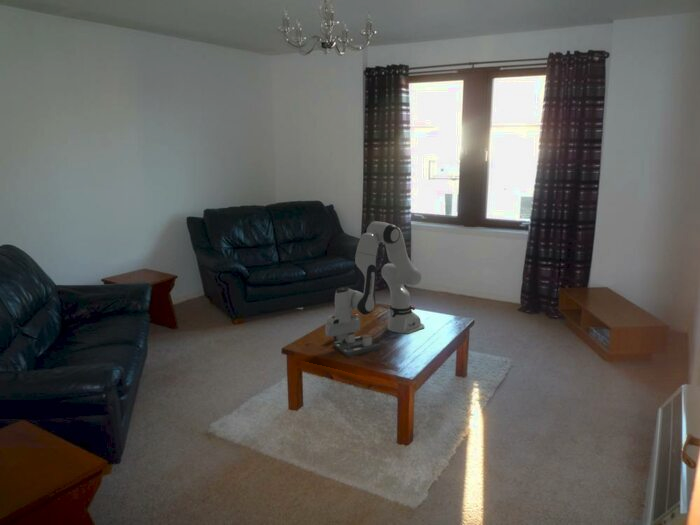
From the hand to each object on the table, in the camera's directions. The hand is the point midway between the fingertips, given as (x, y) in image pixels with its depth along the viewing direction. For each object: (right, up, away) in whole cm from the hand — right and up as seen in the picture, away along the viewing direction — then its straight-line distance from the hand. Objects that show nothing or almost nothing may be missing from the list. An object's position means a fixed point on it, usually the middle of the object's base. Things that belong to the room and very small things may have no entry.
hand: (343, 341), depth 279 cm
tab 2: (+13, -2, -1) cm, 13 cm away
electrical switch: (-2, -1, +12) cm, 12 cm away
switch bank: (+8, -3, 0) cm, 8 cm away
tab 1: (+4, -1, +3) cm, 5 cm away
